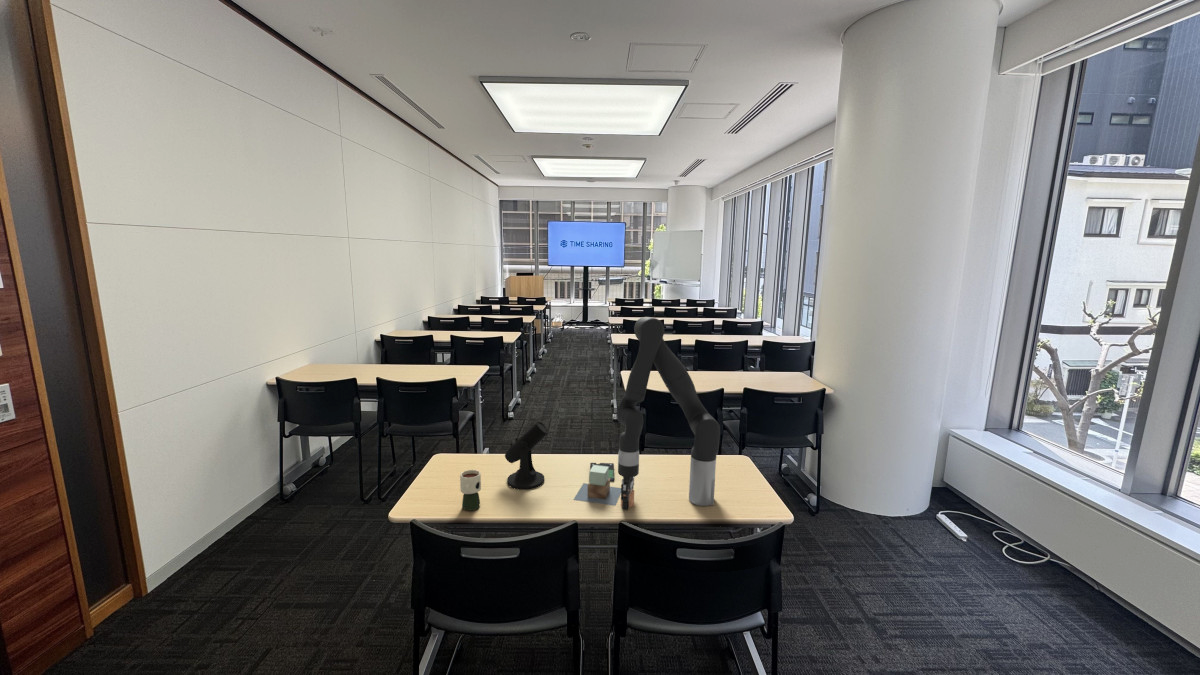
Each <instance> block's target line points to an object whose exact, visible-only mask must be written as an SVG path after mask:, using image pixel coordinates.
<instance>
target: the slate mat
mask: <svg viewBox="0 0 1200 675" xmlns="http://www.w3.org/2000/svg"><path fill="white" fill-rule="evenodd" d="M587 495H588V483H586V482H583V483H582V484H581V487H580V488H579V490H578V491H577V493H576V494H575V495H574V498H573V501H579V502H587V503H592V504H599V505H608V506H613V507H614V506H616V505H617V504H618V501H619V498H620V497H621V487H617V486H610V491H609V493H608V496H607V498H606V499H599V498H592V497H587Z"/></svg>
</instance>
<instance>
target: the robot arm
mask: <svg viewBox="0 0 1200 675" xmlns="http://www.w3.org/2000/svg"><path fill="white" fill-rule="evenodd" d="M664 326H665V325H664V323H663V322H662V321H661V320H660V319H658V318H656V317H650V316H644V317H643V316H642V317H640V318H638V319H637V320H636V322H635V324H634V326H633V329H634V334H635V337H636V339H637V340H638V341H639V347H638V352H637V356H636V359H635V361H634V363H633V366H632V368H631V370H630V372H629V375H628V379H627V383H626V387H625V393H624V395H623V397H622V398H621V401H620V403H619V404H618V407H617V410H616V418H617V421H618V423H619V424H621V425H622V426H625V431H623V432H621V433H620V435H619V438H618V439H619V442H618V443H619V444H618V445H619V446H618V455H617V456H618V458H617V473H618V475H619V476H621V477H622V479H621V485H620V488H621V494H620V501H621V500H622V506H621V509H622V510H626V511H628V510H629V509H630V508H629V495H630V493H631V490H632V489H633V490H634V487H635V478H636V477H637V476H638V475H639V474H640V437H641V434H642V431H643V428H644V427H643V426H644V416H643V413H642V412H641V411H640V410H639V409H636V407H637V404H638V403H642V402H644V400H645V397H646V392H647V388H648V384H649V379H650V374H651V371H652V368H653V365H654V366H655V368H656V370H657V373H658V374H659V375H660V378H661V379H662V382H663V383H664V385H665V387H666V389H667V390H668V392H669V393H670V394H671V396H672V398H673V399H674V400H675V402H676V403H677V404H678V405H679V407H680V408H681V410H682V411H683V413H684V416H685V419H687V423H688V424H689V428H690V430H691V431H692V433H693V434H694V444H693V446H692V448H691V451H690V467H689V468H690V470H689V485H688V486H689V487H688V500H689V502H690V503H691V504H693V505H696V506H700V507H708V506H714V503H715V486H716V470H717V469H716V464H717V455H718V453H719V448H720V439H721V426H720V424H719V422H718V421H717V420H716V419H715V418H714V417H713V416H712V415H711V414H710V413H709V412H708V410H707V409H706V408H705V406H704V404H702V402H701V400H700V398H699V395H698V393H697V390H696V387H695V385H694V382H693V380H692V377H691V376H690V374H689V372H688V371H687V369H686V367H685V365H684V364H683V363H682V362H681V360H680V359H679V358H678V357H677V355H675V353H673V352H672V350H671V349H670V347H669V346H668V345H667V343H666V341H665V339H664V335H665V327H664ZM628 490H629V491H628ZM624 495H626V496H624Z"/></svg>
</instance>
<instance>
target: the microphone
mask: <svg viewBox="0 0 1200 675" xmlns="http://www.w3.org/2000/svg"><path fill="white" fill-rule="evenodd" d="M548 434H549V432H548V429H547V427H546V426H545V424H543V423H542V422H540V421H535V423H533V425H531V426H530V427H529V428H528V429H527V430H526V431H525V432H524V433H523V434H522V435H520V436H519V437H515V438H514V440H515V441H514V442H510V443H509V447H508V449H507V450H506V452H505V454H504V457H505V459H506V461H507V462H508V463H510V464H513V463H516V462H518V461H519V469H517V470H516V471H515V472H512V473H511V474H510V475H508V477H507V479H506V483H507V486H509V487H510V486H511V487H510V488H511V489H514V488H515V489H514V490H518V489H519V490H520V491H521V490H522V491H526V490H527V491H528V490H534V489H536V488H537V489H538V488H539V487H541V486H543V485H544V483H545V475H544V474H543V473H541V472H539V471H537V470H536V469H535V467H534V464H533V458H532V457H533V456H532V450H533V448H534V447H535V446H536V445H537V444H539V443H540V441H542V440H543V439H544V438H545V437H546V436H547V435H548ZM519 490H518V491H519Z"/></svg>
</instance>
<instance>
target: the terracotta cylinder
mask: <svg viewBox="0 0 1200 675" xmlns="http://www.w3.org/2000/svg"><path fill="white" fill-rule="evenodd" d="M628 491H629V490H628ZM624 496H626V495H624ZM620 505H621V507H622V500H621V499H620ZM634 505H635V490H634V488H633V489H632V490H631V493H630V495H629V508H628V509H630V508H632V507H634Z"/></svg>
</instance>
